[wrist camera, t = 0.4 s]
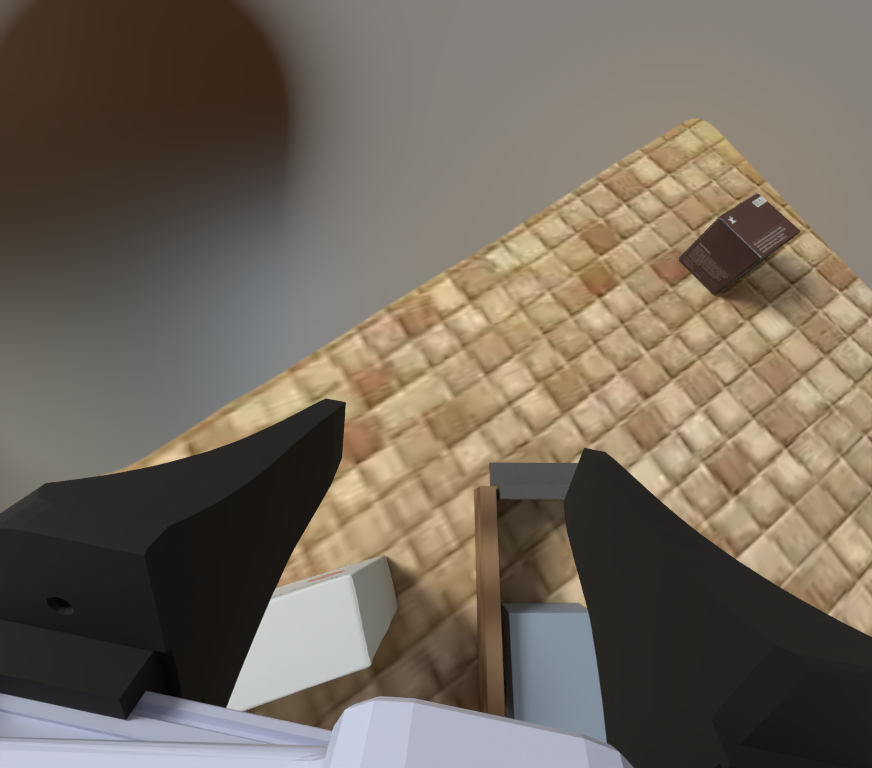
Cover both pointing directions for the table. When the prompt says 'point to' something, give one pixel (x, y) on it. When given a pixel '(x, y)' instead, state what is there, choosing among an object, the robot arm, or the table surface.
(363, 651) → the skincare box
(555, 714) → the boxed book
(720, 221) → the box
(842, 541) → the table surface
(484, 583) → the shelf
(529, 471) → the bookend
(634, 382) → the table surface
